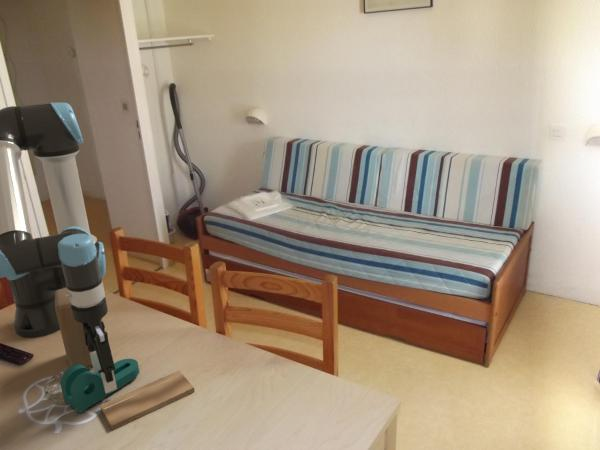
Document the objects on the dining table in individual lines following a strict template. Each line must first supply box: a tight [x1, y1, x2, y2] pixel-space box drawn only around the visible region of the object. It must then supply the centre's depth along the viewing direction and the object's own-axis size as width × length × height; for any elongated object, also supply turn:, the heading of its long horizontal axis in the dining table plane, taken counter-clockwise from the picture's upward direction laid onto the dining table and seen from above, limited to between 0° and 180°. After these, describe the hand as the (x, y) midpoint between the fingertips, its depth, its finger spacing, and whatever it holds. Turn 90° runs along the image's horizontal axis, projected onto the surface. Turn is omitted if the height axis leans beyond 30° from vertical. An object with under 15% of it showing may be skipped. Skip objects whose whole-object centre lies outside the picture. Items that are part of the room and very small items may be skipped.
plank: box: [99, 370, 195, 431], centre depth 123 cm, size 8×20×1 cm, turn 127°
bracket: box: [59, 358, 140, 413], centre depth 126 cm, size 18×7×8 cm, turn 142°
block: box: [55, 288, 106, 368], centre depth 136 cm, size 10×10×20 cm
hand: (105, 381), depth 127 cm, fingers closed on bracket, 8 cm apart
